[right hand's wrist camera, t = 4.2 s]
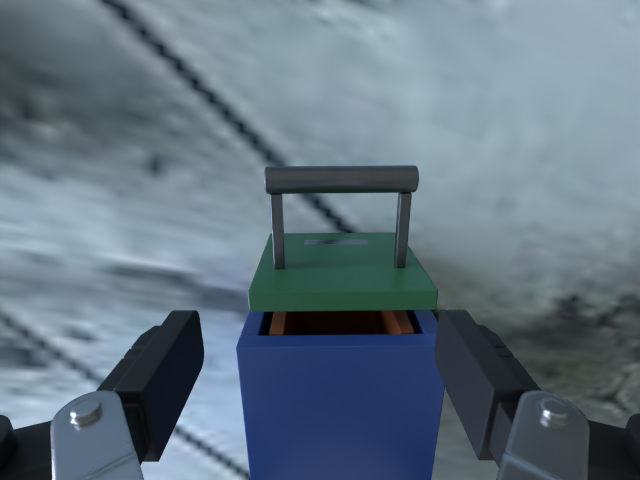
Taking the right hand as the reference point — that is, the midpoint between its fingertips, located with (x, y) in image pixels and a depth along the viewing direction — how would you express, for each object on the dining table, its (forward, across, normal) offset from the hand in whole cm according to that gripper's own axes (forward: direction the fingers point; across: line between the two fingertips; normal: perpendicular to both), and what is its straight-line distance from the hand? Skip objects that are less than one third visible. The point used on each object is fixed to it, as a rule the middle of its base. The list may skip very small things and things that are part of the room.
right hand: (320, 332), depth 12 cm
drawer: (+15, +1, -7) cm, 16 cm away
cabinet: (+16, +1, -13) cm, 20 cm away
